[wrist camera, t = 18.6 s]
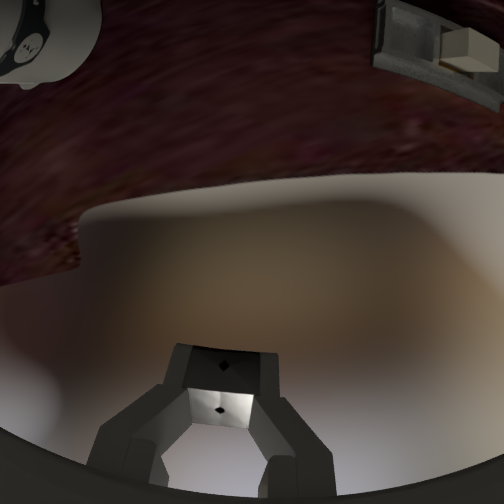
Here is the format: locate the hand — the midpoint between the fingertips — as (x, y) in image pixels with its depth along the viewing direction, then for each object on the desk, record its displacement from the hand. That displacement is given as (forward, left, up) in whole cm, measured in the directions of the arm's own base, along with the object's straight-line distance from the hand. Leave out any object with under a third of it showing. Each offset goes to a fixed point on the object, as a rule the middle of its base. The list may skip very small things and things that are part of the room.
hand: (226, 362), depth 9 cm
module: (+5, +28, -30) cm, 41 cm away
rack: (+5, +28, -31) cm, 42 cm away
